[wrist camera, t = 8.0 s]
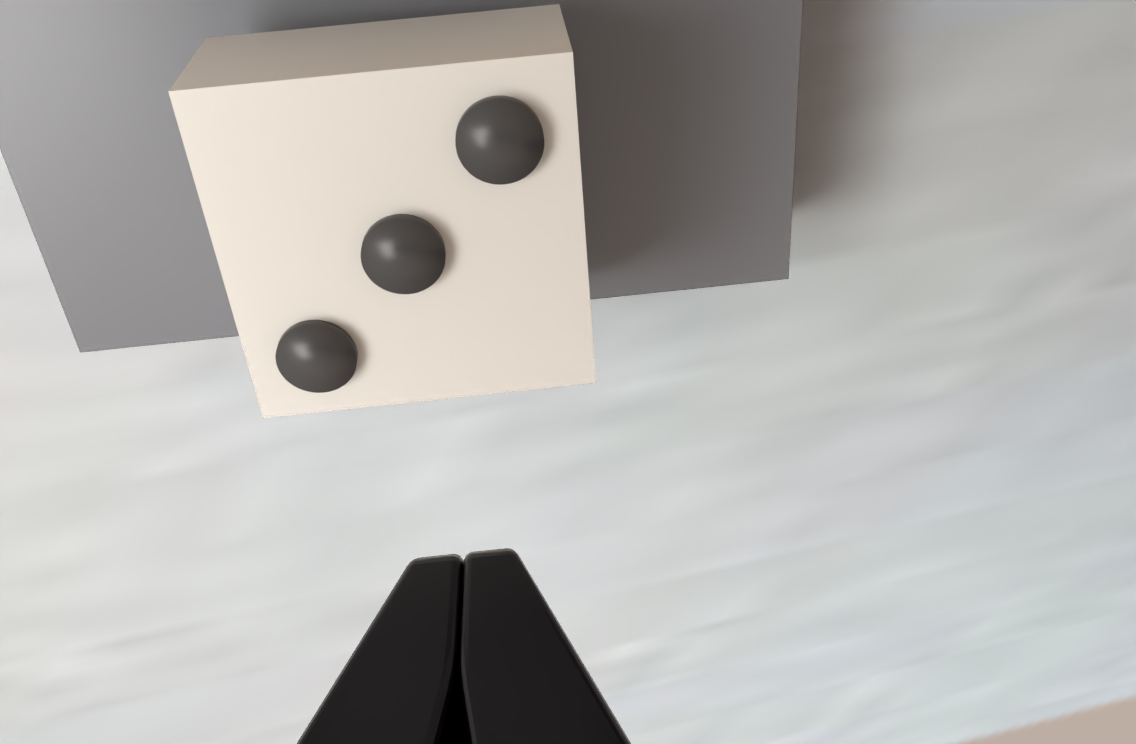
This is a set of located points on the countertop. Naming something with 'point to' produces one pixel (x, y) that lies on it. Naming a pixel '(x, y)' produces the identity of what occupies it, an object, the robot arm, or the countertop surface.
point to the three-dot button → (395, 206)
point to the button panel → (275, 3)
